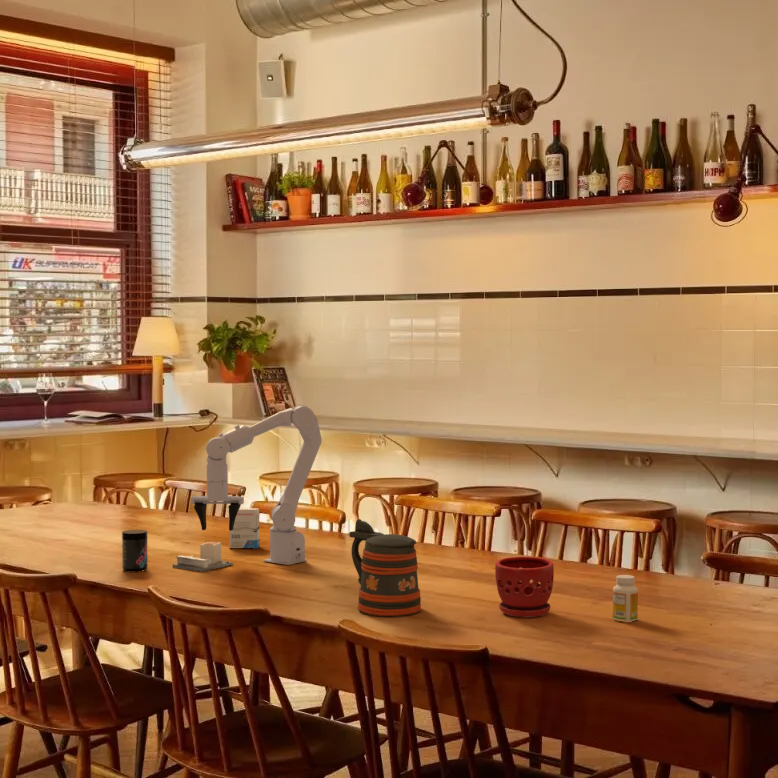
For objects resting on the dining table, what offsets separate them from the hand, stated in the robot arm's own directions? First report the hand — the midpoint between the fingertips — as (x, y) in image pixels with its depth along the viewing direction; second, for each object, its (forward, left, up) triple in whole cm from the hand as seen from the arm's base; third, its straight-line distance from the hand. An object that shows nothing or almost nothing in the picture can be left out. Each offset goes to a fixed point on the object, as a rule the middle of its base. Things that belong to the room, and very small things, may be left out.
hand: (217, 529), depth 327 cm
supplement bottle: (-120, -5, -10) cm, 120 cm away
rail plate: (0, +6, -9) cm, 11 cm away
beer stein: (-70, +18, -10) cm, 73 cm away
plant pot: (-99, +3, -10) cm, 99 cm away
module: (0, +3, -9) cm, 9 cm away
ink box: (+11, -23, -10) cm, 27 cm away
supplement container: (+11, +20, -10) cm, 25 cm away
